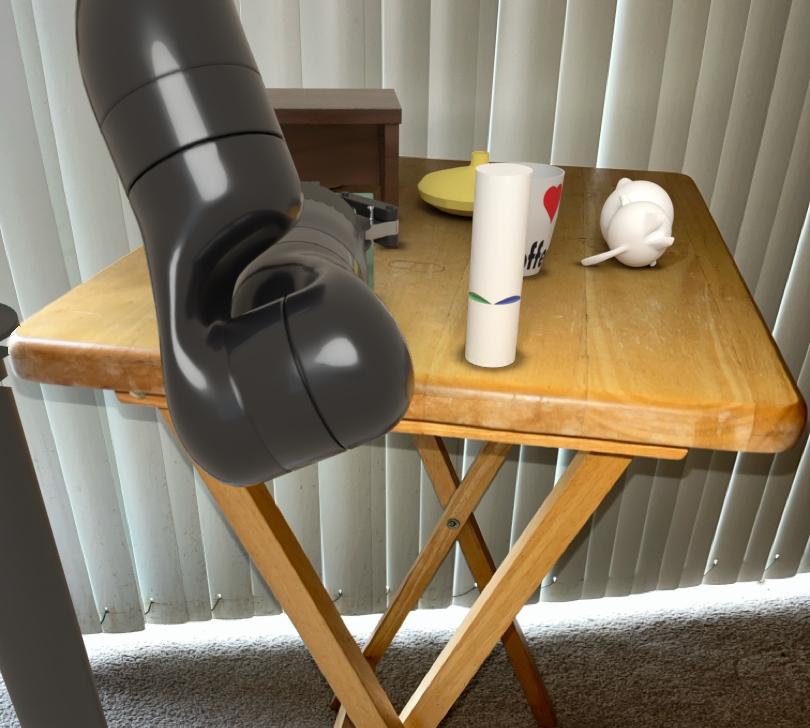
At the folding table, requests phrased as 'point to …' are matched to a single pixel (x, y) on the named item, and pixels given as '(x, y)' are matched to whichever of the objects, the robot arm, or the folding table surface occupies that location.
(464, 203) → the vase
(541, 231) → the cup
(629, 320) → the folding table surface
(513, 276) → the tube
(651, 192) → the cat figurine
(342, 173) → the desk
